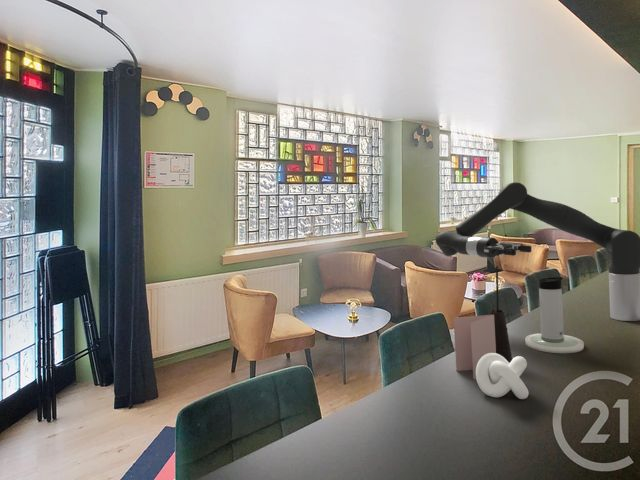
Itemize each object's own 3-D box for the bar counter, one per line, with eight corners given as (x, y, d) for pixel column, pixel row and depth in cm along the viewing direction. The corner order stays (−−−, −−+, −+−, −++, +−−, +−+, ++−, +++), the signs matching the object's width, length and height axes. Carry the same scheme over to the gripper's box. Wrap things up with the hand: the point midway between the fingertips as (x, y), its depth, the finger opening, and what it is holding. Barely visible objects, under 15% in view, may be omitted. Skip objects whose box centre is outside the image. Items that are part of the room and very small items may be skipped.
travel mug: (568, 342, 123) (565, 278, 122) (545, 343, 124) (542, 279, 123) (560, 336, 129) (557, 275, 128) (538, 337, 130) (535, 276, 129)
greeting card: (495, 366, 112) (492, 313, 111) (508, 376, 105) (505, 320, 104) (455, 369, 112) (452, 317, 111) (465, 380, 104) (462, 323, 104)
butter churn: (482, 352, 124) (477, 263, 122) (516, 354, 120) (512, 262, 119) (483, 363, 115) (478, 267, 114) (520, 365, 112) (515, 266, 110)
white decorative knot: (546, 403, 89) (544, 364, 89) (495, 409, 88) (493, 369, 88) (517, 383, 100) (516, 348, 100) (471, 388, 100) (469, 352, 99)
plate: (521, 336, 136) (521, 332, 136) (575, 338, 131) (575, 333, 131) (530, 352, 121) (529, 347, 121) (591, 354, 116) (590, 349, 116)
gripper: (468, 238, 143) (510, 242, 130) (494, 234, 151) (535, 237, 137) (469, 259, 144) (510, 264, 130) (494, 254, 151) (535, 259, 137)
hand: (523, 250), depth 133 cm, fingers open, 8 cm apart
